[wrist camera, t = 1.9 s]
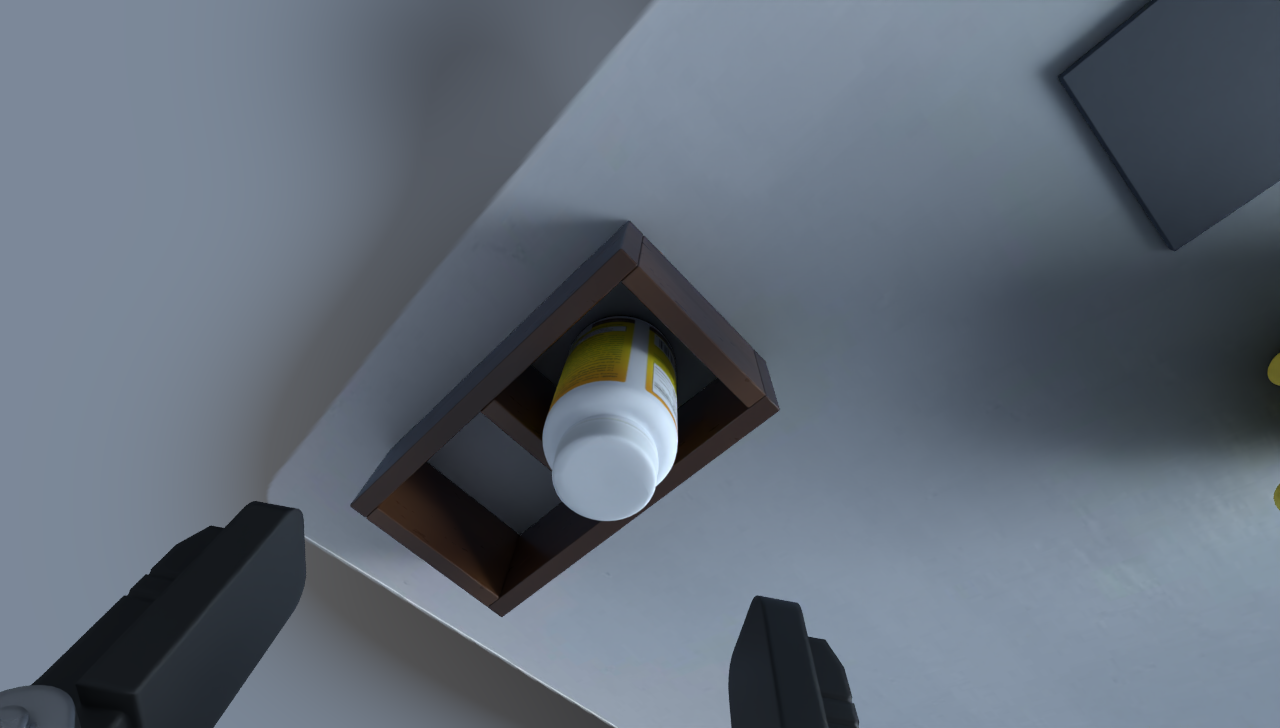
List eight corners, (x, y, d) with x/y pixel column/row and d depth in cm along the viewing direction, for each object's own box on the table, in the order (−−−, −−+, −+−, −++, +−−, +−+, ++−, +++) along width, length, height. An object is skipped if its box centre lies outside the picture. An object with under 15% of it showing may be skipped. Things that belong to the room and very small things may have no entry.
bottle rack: (389, 450, 36) (348, 506, 32) (628, 219, 30) (621, 247, 25) (521, 553, 39) (501, 618, 35) (766, 361, 33) (780, 410, 28)
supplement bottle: (551, 379, 34) (505, 501, 25) (599, 292, 32) (568, 390, 22) (644, 425, 35) (633, 559, 26) (697, 344, 32) (706, 457, 23)
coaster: (1056, 77, 27) (1062, 77, 26) (1314, -134, 23) (1324, -137, 23) (1169, 249, 29) (1175, 251, 29) (1413, 83, 26) (1423, 84, 26)
